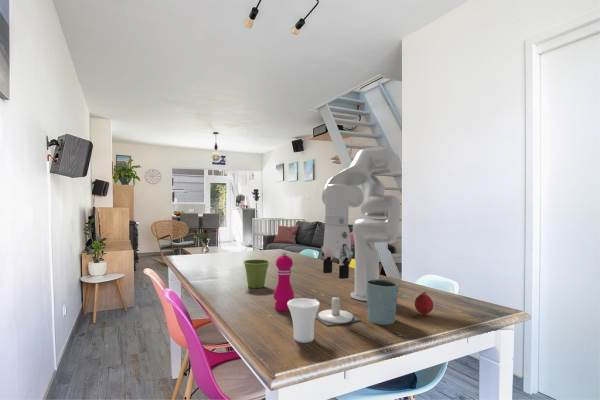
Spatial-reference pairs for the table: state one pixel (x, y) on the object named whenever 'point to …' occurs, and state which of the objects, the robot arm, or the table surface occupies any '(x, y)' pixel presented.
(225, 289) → the table surface
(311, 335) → the cup
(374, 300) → the blue round container
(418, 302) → the onion
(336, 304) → the lid
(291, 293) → the pepper mill
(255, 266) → the plant pot
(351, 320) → the mat
